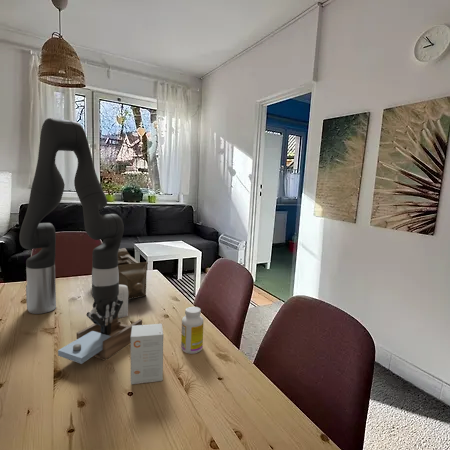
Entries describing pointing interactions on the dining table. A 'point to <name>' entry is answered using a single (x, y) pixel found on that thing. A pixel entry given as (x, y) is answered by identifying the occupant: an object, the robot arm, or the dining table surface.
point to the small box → (146, 353)
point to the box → (112, 337)
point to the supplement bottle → (192, 331)
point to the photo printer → (124, 297)
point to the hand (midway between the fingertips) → (106, 335)
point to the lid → (84, 347)
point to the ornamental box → (131, 274)
